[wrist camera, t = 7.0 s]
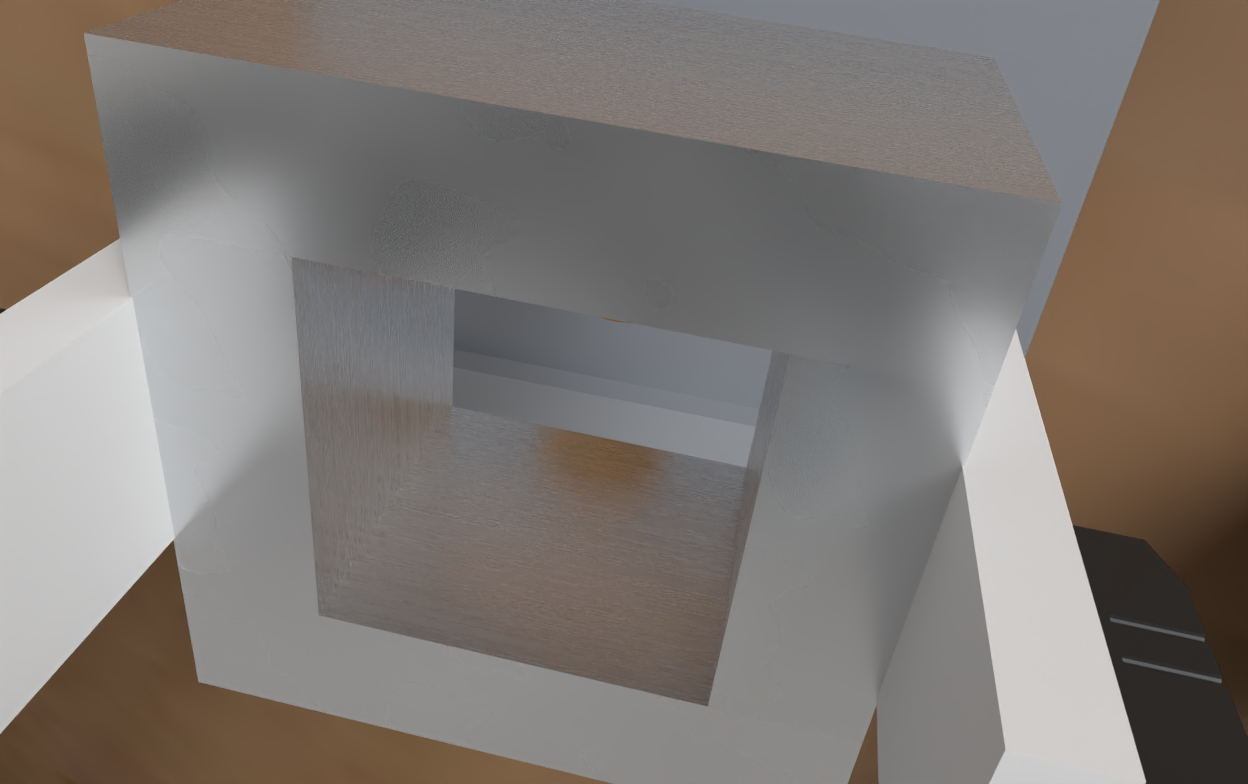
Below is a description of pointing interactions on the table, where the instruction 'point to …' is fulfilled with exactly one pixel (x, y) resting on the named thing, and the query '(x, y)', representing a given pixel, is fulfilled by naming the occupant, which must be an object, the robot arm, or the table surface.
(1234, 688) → the table surface
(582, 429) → the keeper plate
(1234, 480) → the table surface
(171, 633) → the table surface
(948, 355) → the square frame
